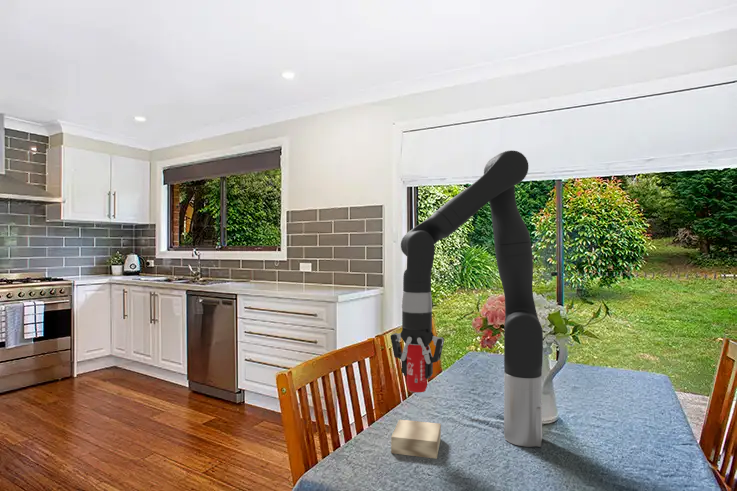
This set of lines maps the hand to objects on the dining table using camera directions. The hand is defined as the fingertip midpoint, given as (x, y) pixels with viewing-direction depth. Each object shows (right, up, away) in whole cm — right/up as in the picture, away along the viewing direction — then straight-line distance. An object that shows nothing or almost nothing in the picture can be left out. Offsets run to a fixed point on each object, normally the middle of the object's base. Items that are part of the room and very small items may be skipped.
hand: (416, 376), depth 111 cm
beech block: (0, -17, -1) cm, 17 cm away
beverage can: (0, -4, 0) cm, 4 cm away
